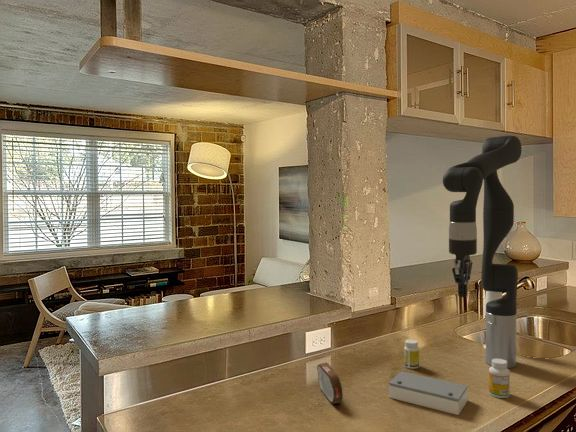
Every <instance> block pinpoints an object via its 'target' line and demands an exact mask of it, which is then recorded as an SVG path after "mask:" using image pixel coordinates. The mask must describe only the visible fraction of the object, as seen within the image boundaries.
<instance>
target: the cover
mask: <svg viewBox="0 0 576 432" xmlns="http://www.w3.org/2000/svg"><path fill="white" fill-rule="evenodd" d="M389 385H392V386H396V387H400V388H405V389H409V390H413V391H417V392H421V393H426V394H430V395H434V396H438V397H442V398H447V399H451V400H455V401H459V400H460V398H461V397H462V395H463V394H464V392H465V391H466V389H467V388H468V385H465V384H461V383H456V382H452V381H447V380H443V379H439V378H434V377H429V376H424V375H420V374H415V373H410V372H405V371H400V372H398V373H397V374H396V375H395V377H393V378H392V379H391V380H390V381H389V382H388V386H389Z"/></svg>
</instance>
